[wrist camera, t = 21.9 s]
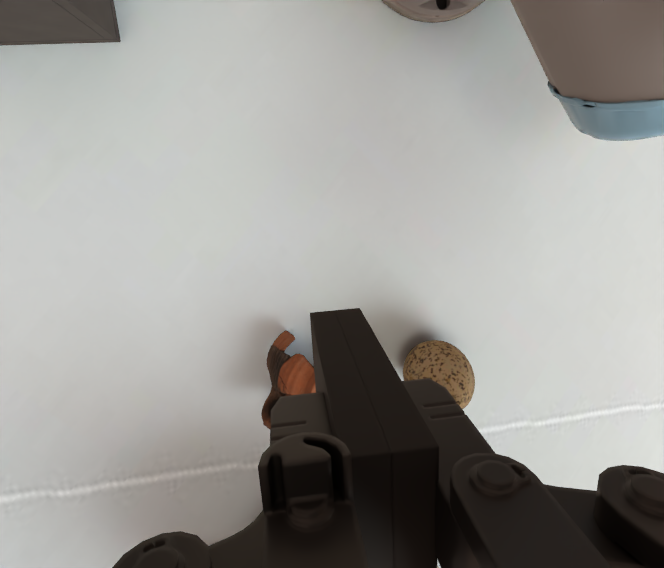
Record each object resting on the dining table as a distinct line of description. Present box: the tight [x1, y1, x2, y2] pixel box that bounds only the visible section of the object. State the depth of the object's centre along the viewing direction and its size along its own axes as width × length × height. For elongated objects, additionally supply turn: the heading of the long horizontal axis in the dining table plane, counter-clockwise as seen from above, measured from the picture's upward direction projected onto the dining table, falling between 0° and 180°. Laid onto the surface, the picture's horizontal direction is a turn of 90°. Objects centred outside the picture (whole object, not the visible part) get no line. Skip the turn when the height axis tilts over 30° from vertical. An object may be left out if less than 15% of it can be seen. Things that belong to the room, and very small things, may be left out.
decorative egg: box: [403, 340, 475, 409], centre depth 45 cm, size 7×7×10 cm
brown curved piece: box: [262, 331, 316, 429], centre depth 46 cm, size 12×10×8 cm
